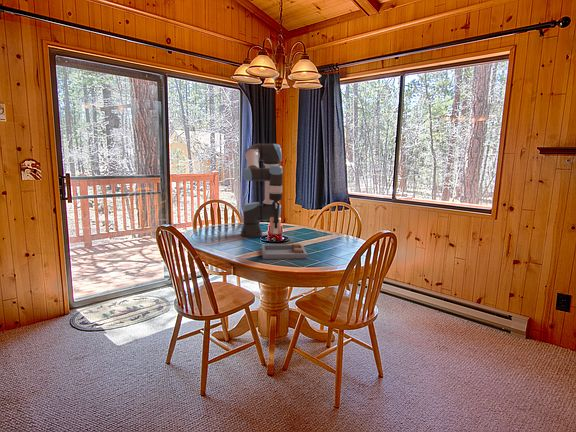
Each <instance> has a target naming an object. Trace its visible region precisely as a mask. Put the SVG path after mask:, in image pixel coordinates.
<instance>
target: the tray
mask: <svg viewBox="0 0 576 432" xmlns="http://www.w3.org/2000/svg"><path fill="white" fill-rule="evenodd" d="M292 244H293V243H291V244H262V245H261V254H262V259H263V260H276V259H278V260H279V259H280V260H282V259H284V260H286V259H287V260H289V259H308V252H307V251H306V249H305V247H304V245H303V244H301V243H299V244H300V248H302V253H294V252H293V251H292Z"/></svg>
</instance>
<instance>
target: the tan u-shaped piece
mask: <svg viewBox="0 0 576 432" xmlns="http://www.w3.org/2000/svg"><path fill="white" fill-rule="evenodd" d="M278 221H279V222H278V234H277V235H280V234H281V232H282V217H281V216H280V217H278ZM273 222H274V217H270V221H269V234H270V235H274V234H273Z"/></svg>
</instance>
